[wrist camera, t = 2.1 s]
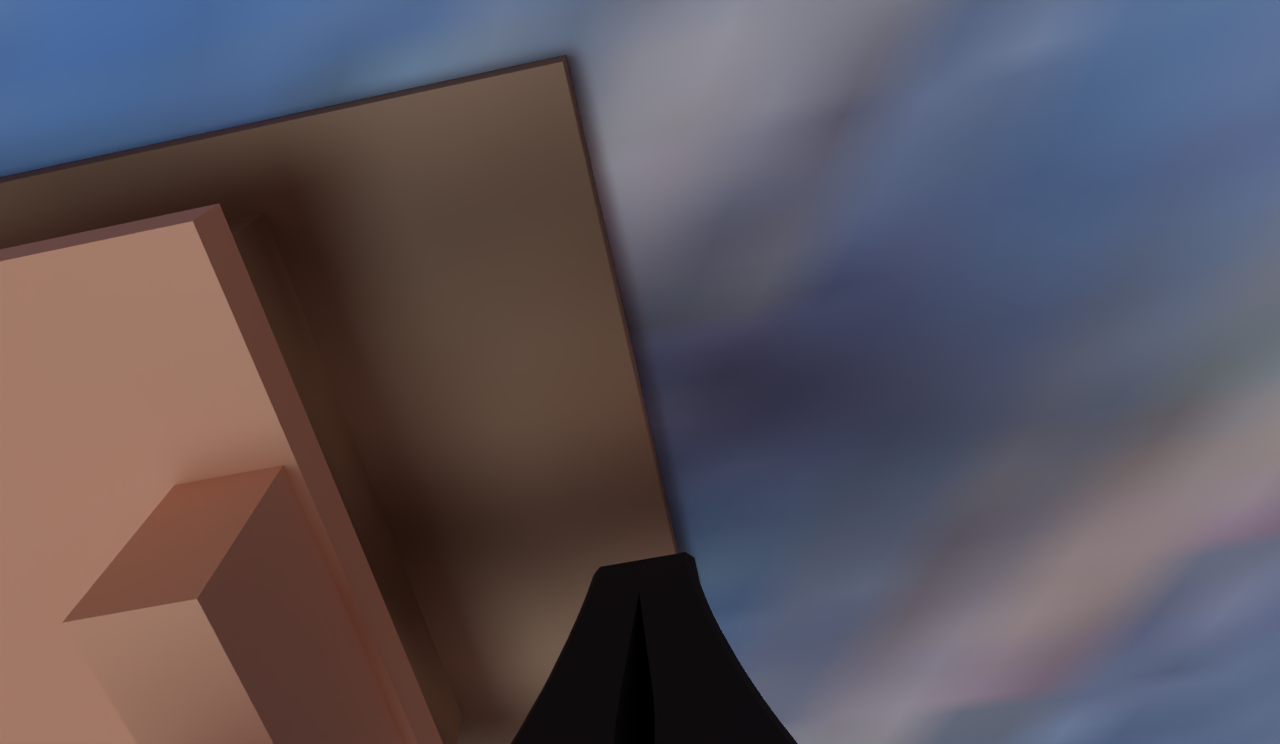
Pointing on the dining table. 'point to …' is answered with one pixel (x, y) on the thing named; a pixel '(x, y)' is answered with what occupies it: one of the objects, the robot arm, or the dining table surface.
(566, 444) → the socket
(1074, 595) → the dining table surface
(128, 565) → the panel
